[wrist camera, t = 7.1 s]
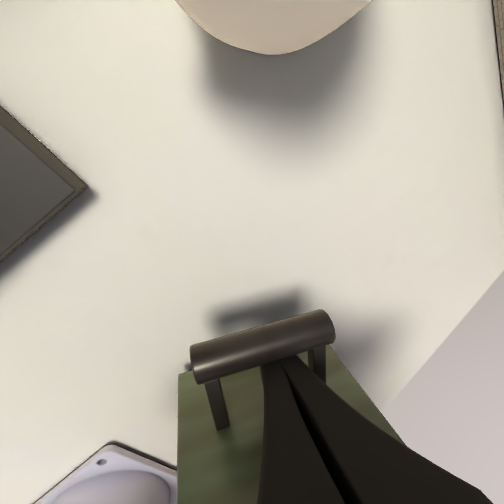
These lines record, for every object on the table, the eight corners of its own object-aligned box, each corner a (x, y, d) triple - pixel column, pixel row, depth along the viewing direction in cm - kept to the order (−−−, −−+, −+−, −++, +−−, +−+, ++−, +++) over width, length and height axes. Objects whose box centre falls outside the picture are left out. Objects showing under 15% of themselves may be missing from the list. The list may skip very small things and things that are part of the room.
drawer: (156, 308, 12) (128, 476, 6) (318, 268, 13) (433, 366, 7) (210, 472, 17) (227, 649, 11) (321, 430, 19) (388, 564, 13)
